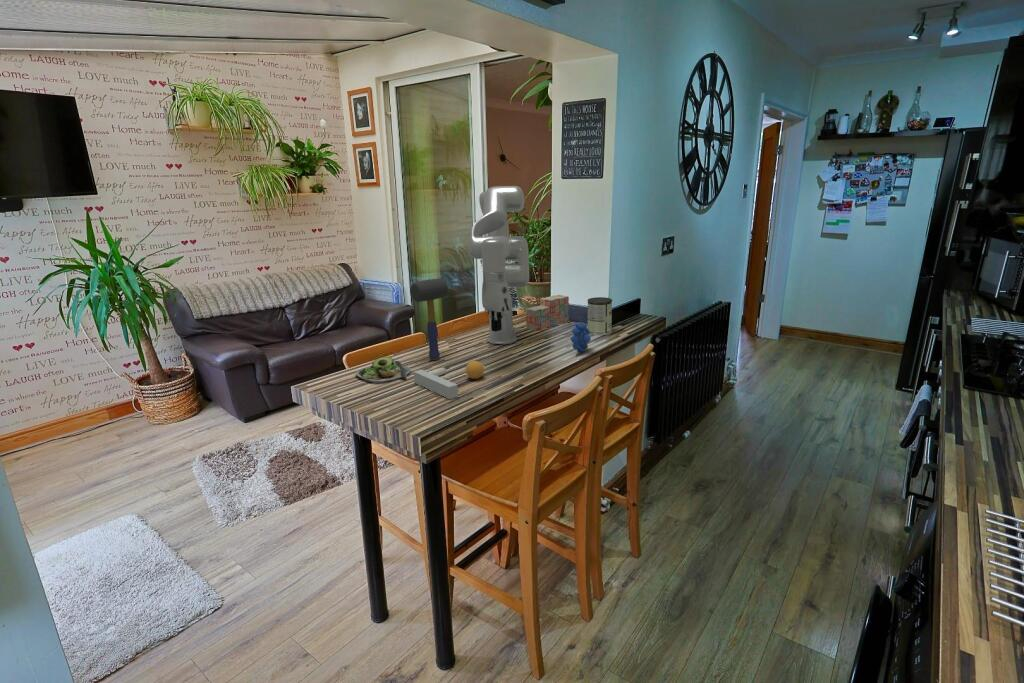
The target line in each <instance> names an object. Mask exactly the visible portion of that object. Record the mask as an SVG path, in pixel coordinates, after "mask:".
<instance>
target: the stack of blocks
mask: <svg viewBox="0 0 1024 683" xmlns="http://www.w3.org/2000/svg"><path fill="white" fill-rule="evenodd" d="M569 299H570V298H569V296H567V295H562V294H557V295H551V296H547V297H543V298H540V303H539V304H540V305H537V306H532V307H527V308H526V310H525V312H526V313H525V314H526V315H525V320H526V321H525V323H526V324H525V325H526V326H525V328H526V329H528V330H532V331H540V330H544V329H547V328H548V329H549V328H551V327H555V326H559V325H562V324H566V323H569V322H570V316H569V312H570V311H569V308H570V307H569V306H570V303H569Z"/></svg>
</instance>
